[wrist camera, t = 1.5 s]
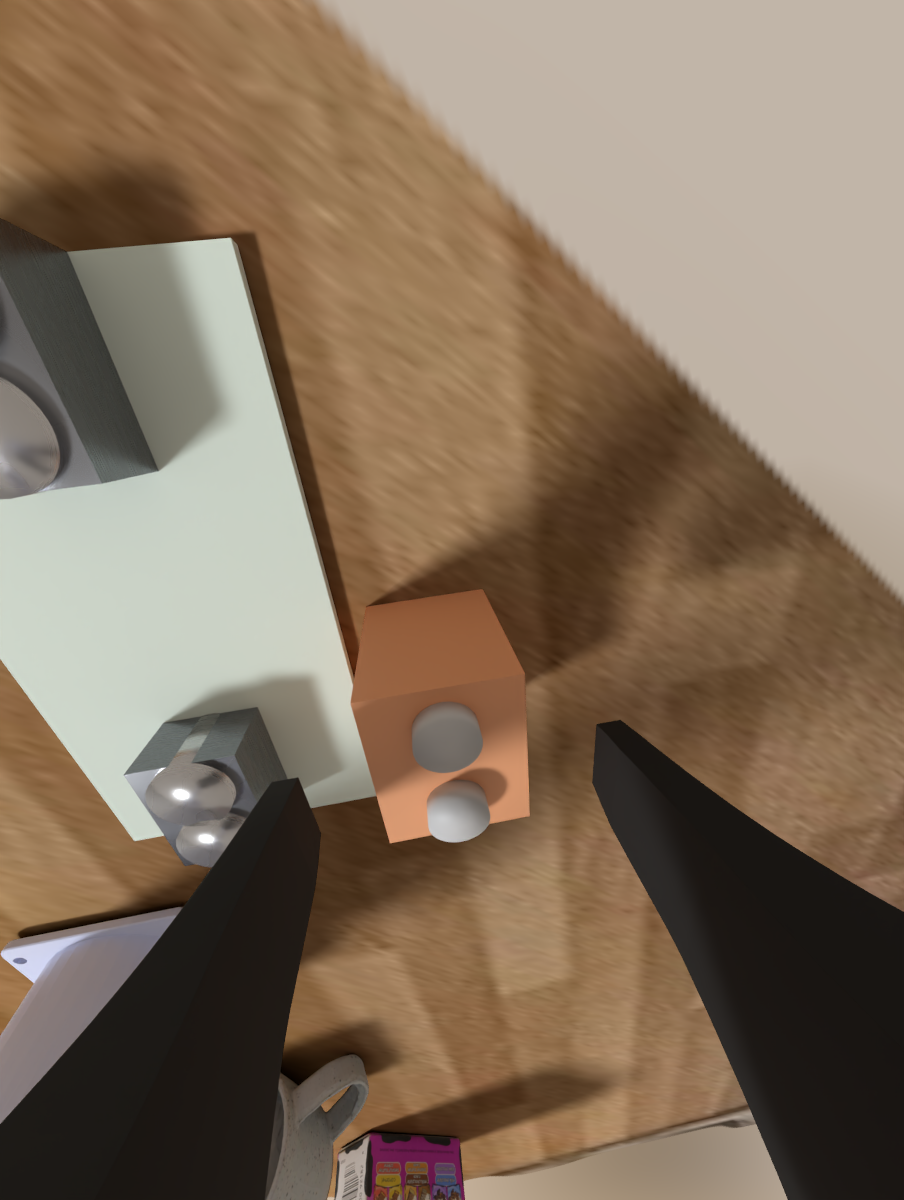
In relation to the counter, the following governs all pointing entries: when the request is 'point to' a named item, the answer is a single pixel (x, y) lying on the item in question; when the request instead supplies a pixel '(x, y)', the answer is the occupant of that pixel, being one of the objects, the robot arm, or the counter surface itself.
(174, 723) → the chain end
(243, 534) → the mat
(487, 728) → the orange block with knobs
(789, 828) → the counter surface
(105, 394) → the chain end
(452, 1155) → the candy bar box
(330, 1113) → the ceramic mug
